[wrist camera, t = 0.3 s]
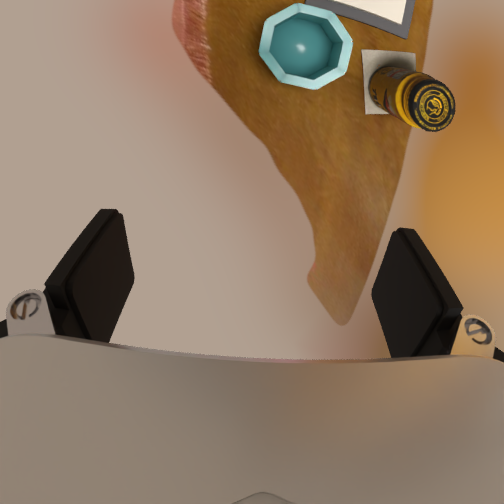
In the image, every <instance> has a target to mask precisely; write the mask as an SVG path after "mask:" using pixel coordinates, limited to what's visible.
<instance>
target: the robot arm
mask: <svg viewBox="0 0 504 504" xmlns="http://www.w3.org/2000/svg"><path fill="white" fill-rule="evenodd" d="M133 284H134V271H133V266H132V262H131V257H130V252H129V247H128V242H127V236H126V230H125V225H124V219H123V215H122V214H121V213H119V212H118V210H116V209H101V210H100V211H99V212H98V213H97V214H96V215H95V217H94V218H93V219H92V220H91V221H90V223H89V224H88V225H87V226H86V228H85V229H84V230H83V231H82V233H81V234H80V235H79V237H78V238H77V239H76V241H75V242H74V243H73V244H72V246H71V247H70V249H69V250H68V251H67V252H66V254H65V255H64V257H63V258H62V259H61V261H60V262H59V263H58V265H57V266H56V268H55V269H54V270H53V272H52V273H51V275H50V276H49V278H48V279H47V281H46V282H45V286H46V288H45V290H44V291H43V293H42V292H41V291H39V290H35V289H34V290H26V291H23V292H21V293H20V294H18V295H17V296H15V297H14V298H13V299H12V300H11V302H10V303H9V304H8V307H7V310H6V318H7V319H5V320H3V321H1V322H0V504H504V352H502V351H501V350H499V349H498V348H496V347H495V342H496V336H495V333H494V330H493V329H492V327H491V326H490V325H489V323H488V322H486V321H485V320H484V319H482V318H481V317H478V316H476V315H466V316H465V317H462V315H461V314H460V313H461V311H462V310H463V307H462V304H461V303H460V301H459V299H458V297H457V296H456V294H455V292H454V291H453V289H452V287H451V285H450V284H449V282H448V281H447V279H446V277H445V276H444V274H443V272H442V271H441V269H440V268H439V266H438V264H437V263H436V261H435V259H434V258H433V256H432V255H431V253H430V252H429V250H428V249H427V247H426V246H425V244H424V243H423V241H422V240H421V238H420V237H419V235H418V234H417V233H416V231H415V230H414V229H408V228H398V229H397V230H396V231H394V232H393V233H392V235H391V238H390V241H389V244H388V247H387V250H386V252H385V255H384V258H383V261H382V264H381V267H380V269H379V272H378V275H377V277H376V280H375V283H374V285H373V288H372V300H373V303H374V306H375V309H376V311H377V314H378V317H379V320H380V323H381V326H382V329H383V332H384V336H385V339H386V342H387V345H388V348H389V351H390V355H391V358H380V359H349V360H348V359H347V360H303V359H266V358H246V357H229V356H217V355H204V354H192V353H183V352H174V351H164V350H156V349H148V348H141V347H133V346H127V345H120V344H113V343H109V341H110V338H111V336H112V333H113V331H114V329H115V326H116V324H117V321H118V319H119V316H120V314H121V312H122V309H123V307H124V304H125V302H126V300H127V297H128V295H129V293H130V291H131V288H132V286H133Z"/></svg>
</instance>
